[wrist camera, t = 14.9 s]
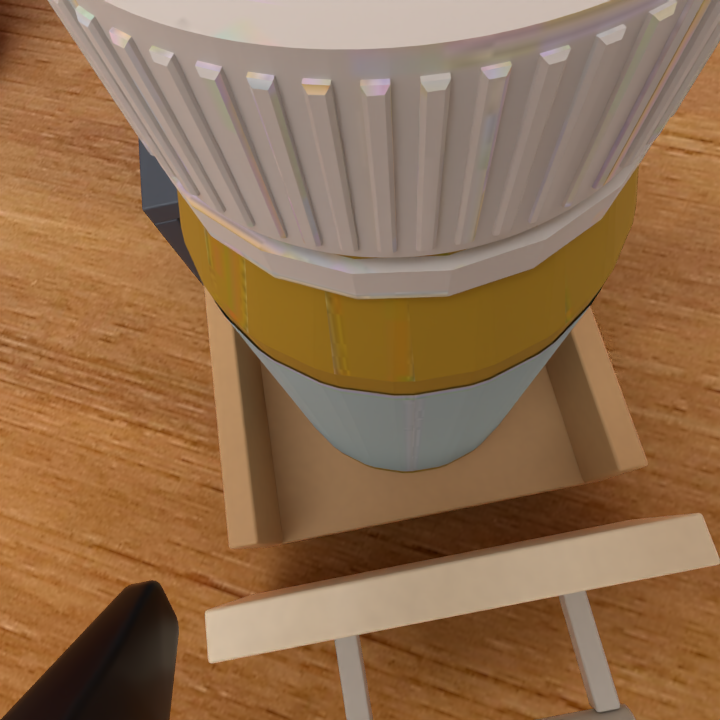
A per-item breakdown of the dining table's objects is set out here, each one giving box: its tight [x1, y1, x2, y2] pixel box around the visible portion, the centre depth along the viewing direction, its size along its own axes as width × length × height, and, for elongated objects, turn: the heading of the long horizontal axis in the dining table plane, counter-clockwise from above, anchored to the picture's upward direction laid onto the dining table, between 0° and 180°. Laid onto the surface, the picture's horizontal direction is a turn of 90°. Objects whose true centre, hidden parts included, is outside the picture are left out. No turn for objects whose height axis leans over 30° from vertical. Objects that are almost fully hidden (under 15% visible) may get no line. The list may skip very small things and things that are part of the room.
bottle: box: [48, 0, 720, 473], centre depth 11 cm, size 7×7×15 cm
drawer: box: [204, 286, 720, 720], centre depth 16 cm, size 20×12×4 cm, turn 11°
